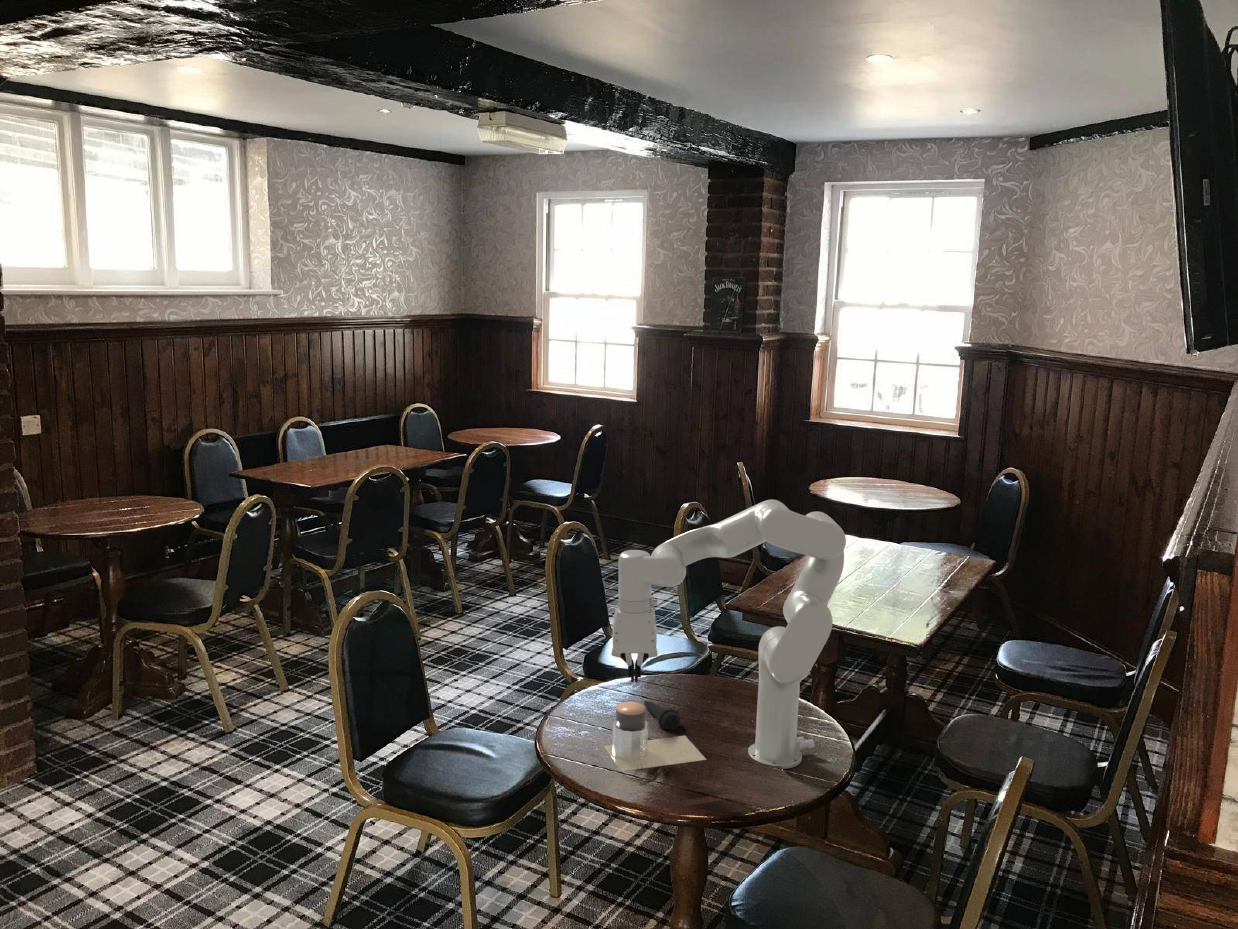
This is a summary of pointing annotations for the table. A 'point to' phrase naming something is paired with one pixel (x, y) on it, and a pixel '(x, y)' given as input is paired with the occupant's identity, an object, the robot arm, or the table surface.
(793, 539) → the robot arm
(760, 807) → the table surface
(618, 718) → the peach ball on collar
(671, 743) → the cylinder on base plate
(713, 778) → the table surface
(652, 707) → the microphone
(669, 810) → the table surface
